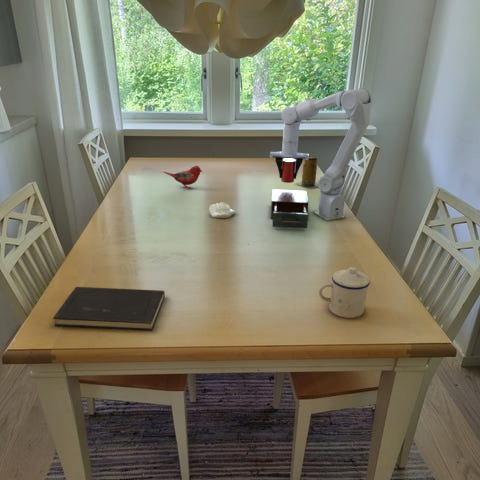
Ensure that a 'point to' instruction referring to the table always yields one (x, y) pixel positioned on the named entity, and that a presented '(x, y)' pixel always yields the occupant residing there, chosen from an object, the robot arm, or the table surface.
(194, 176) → the decorative bird figurine
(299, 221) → the drawer
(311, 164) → the condiment
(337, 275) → the teacup with lid
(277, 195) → the cabinet
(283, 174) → the can
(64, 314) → the hardcover book
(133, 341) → the table surface
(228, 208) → the white lumpy piece
